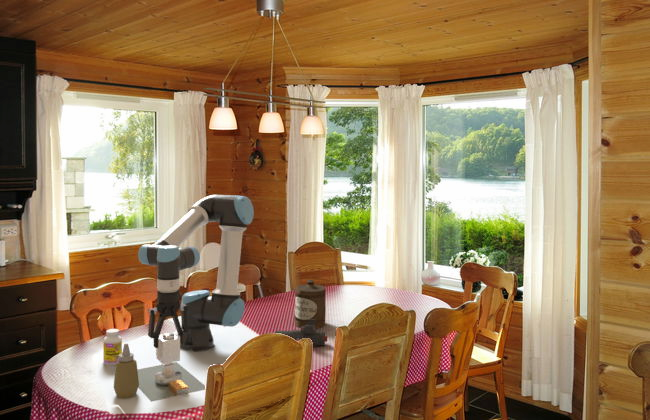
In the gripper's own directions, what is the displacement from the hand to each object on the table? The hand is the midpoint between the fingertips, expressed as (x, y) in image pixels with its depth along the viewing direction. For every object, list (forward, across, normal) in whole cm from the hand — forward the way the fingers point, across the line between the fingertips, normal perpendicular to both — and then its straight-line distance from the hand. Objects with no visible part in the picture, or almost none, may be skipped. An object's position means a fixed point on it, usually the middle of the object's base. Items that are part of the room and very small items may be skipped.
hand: (168, 354), depth 206 cm
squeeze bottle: (+11, -16, -3) cm, 19 cm away
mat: (+11, 0, +2) cm, 11 cm away
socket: (+2, 0, 0) cm, 2 cm away
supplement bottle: (+11, -11, +30) cm, 34 cm away
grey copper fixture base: (+10, 0, -4) cm, 11 cm away
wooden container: (+11, +83, +34) cm, 90 cm away
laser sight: (+11, +64, +12) cm, 65 cm away
